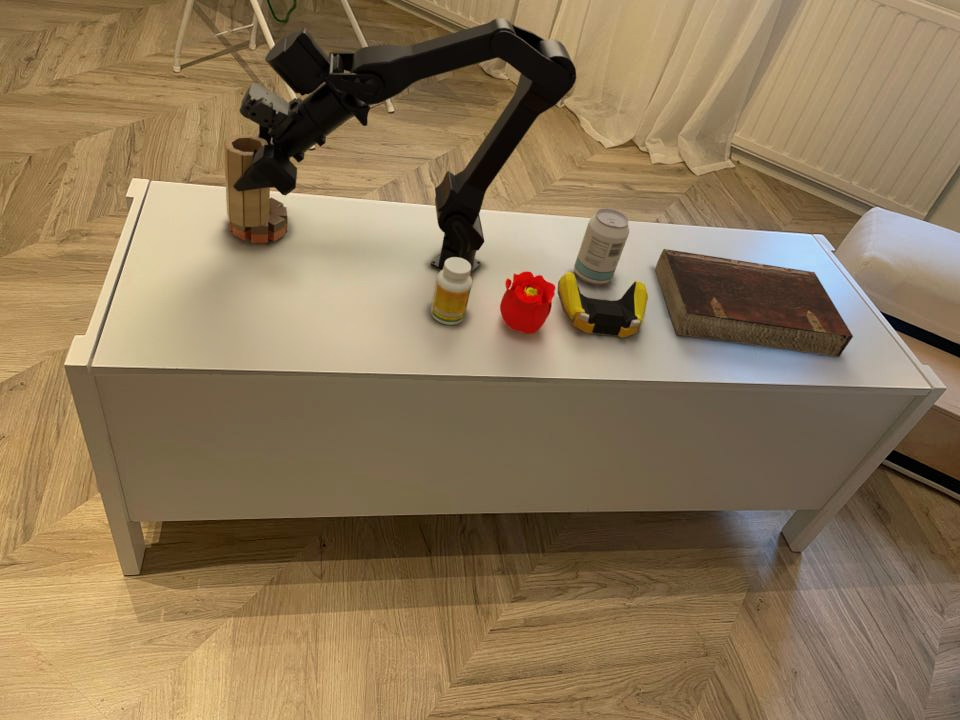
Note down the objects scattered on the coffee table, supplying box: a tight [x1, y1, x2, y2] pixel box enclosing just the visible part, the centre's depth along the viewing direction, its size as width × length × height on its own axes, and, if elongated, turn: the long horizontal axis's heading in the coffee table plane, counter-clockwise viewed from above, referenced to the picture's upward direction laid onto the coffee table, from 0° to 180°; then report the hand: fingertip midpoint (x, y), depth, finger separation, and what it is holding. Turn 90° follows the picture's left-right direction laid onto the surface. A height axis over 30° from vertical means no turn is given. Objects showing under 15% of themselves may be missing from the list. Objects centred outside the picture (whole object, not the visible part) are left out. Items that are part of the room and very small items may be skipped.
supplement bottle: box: [430, 257, 473, 326], centre depth 117 cm, size 5×5×10 cm
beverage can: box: [573, 208, 630, 286], centre depth 131 cm, size 7×7×12 cm
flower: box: [499, 270, 556, 335], centre depth 119 cm, size 8×8×8 cm
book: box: [654, 248, 854, 358], centre depth 134 cm, size 29×19×5 cm, turn 91°
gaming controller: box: [557, 271, 649, 339], centre depth 125 cm, size 15×6×10 cm
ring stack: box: [229, 197, 288, 244], centre depth 126 cm, size 9×9×3 cm
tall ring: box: [223, 134, 271, 227], centre depth 115 cm, size 6×6×12 cm
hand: (238, 176), depth 115 cm, fingers closed on tall ring, 6 cm apart
